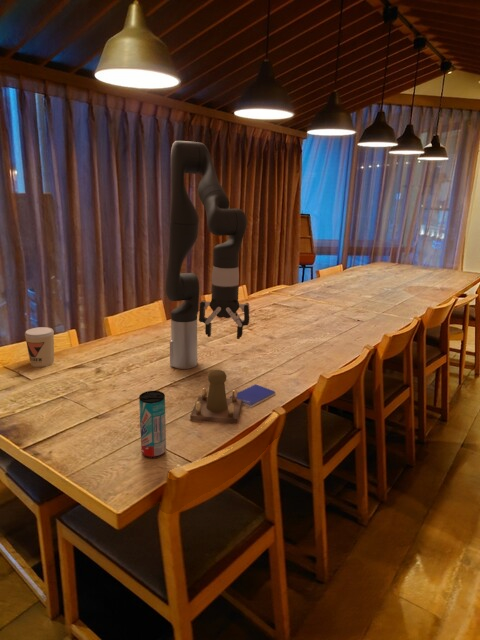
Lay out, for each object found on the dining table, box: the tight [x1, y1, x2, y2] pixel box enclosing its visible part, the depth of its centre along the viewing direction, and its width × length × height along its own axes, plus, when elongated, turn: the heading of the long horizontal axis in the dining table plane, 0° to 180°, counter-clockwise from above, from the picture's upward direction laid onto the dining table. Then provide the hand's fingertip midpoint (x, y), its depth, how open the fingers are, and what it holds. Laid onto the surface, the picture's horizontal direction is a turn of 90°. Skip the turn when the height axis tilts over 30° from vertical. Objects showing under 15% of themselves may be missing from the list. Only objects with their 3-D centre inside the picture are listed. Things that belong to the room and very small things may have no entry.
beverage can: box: [138, 390, 167, 459], centre depth 107 cm, size 6×6×15 cm
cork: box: [206, 369, 227, 412], centre depth 128 cm, size 6×6×11 cm
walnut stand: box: [189, 386, 242, 425], centre depth 129 cm, size 13×12×5 cm
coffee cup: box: [24, 326, 55, 368], centre depth 159 cm, size 9×9×12 cm
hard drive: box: [229, 383, 276, 408], centre depth 140 cm, size 2×8×12 cm
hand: (223, 337), depth 130 cm, fingers open, 8 cm apart
